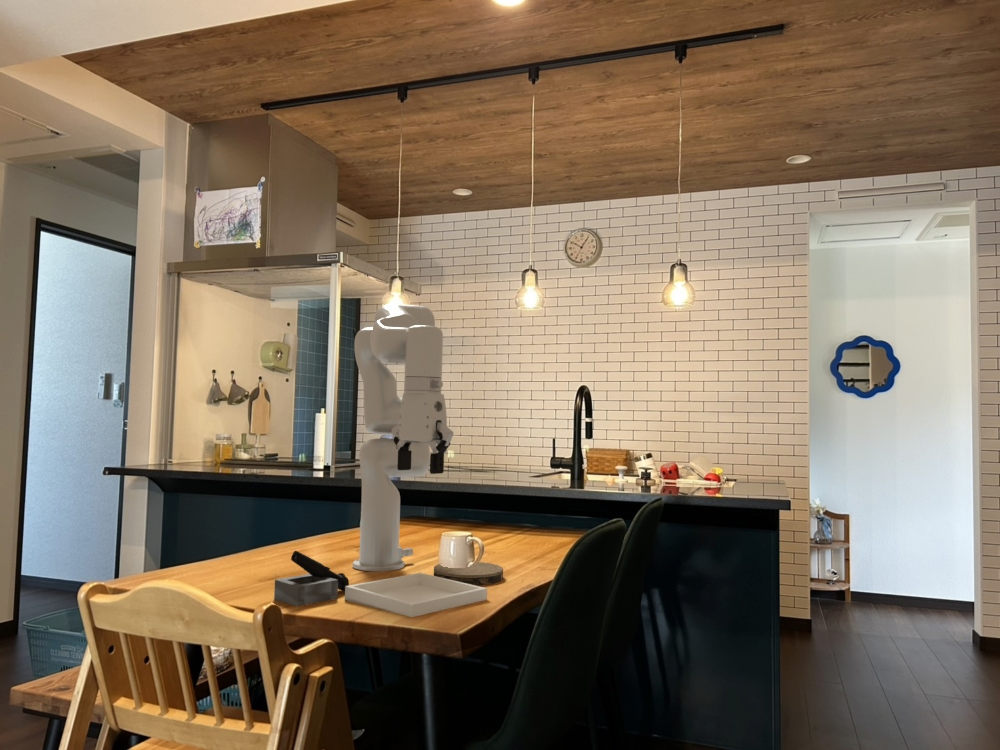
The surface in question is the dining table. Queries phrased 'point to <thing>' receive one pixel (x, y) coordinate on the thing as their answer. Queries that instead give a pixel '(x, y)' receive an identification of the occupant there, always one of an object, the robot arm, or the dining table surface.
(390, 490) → the robot arm
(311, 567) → the electric trimmer
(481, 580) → the wooden log coaster
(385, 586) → the tray
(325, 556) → the dining table surface
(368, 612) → the dining table surface
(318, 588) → the socket block
